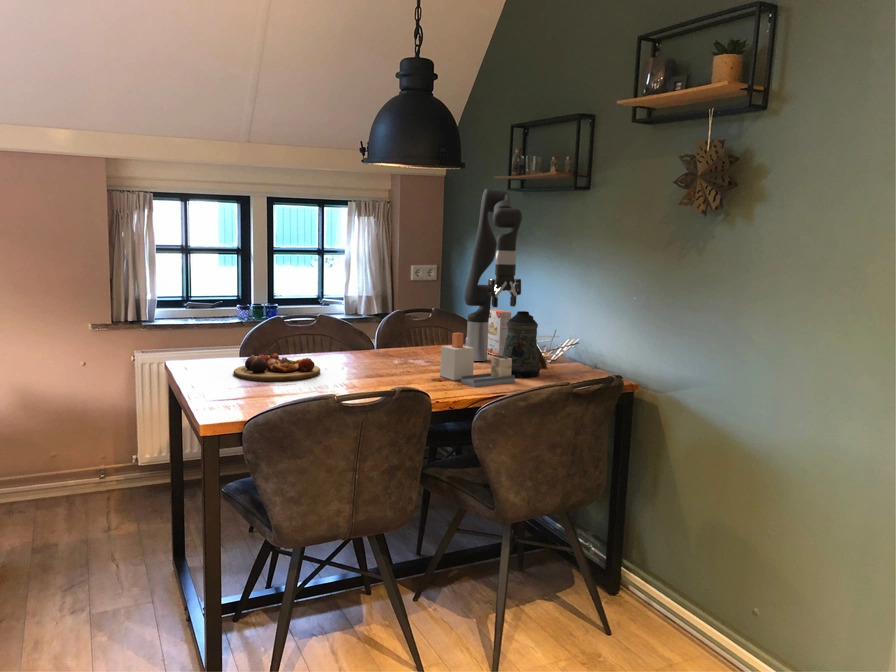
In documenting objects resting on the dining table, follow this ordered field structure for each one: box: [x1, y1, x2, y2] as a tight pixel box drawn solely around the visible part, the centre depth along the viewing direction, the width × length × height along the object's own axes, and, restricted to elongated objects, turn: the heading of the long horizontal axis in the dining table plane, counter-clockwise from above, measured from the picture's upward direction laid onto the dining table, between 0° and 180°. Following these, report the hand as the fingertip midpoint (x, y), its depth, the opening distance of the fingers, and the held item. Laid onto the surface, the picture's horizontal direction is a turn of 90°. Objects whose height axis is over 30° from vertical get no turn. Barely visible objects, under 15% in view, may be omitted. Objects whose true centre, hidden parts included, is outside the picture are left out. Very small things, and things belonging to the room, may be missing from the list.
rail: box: [460, 372, 516, 388], centre depth 262 cm, size 8×19×2 cm, turn 125°
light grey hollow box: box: [439, 344, 474, 382], centre depth 267 cm, size 9×9×12 cm
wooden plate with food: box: [233, 352, 321, 382], centre depth 266 cm, size 32×32×8 cm
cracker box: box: [488, 308, 512, 356], centre depth 323 cm, size 14×6×21 cm, turn 25°
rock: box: [537, 345, 548, 370], centre depth 297 cm, size 11×9×10 cm
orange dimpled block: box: [451, 332, 464, 348], centre depth 266 cm, size 3×3×9 cm
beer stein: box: [502, 310, 542, 379], centre depth 279 cm, size 16×19×25 cm
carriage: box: [490, 355, 512, 377], centre depth 265 cm, size 6×5×8 cm
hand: (503, 306), depth 262 cm, fingers open, 8 cm apart
